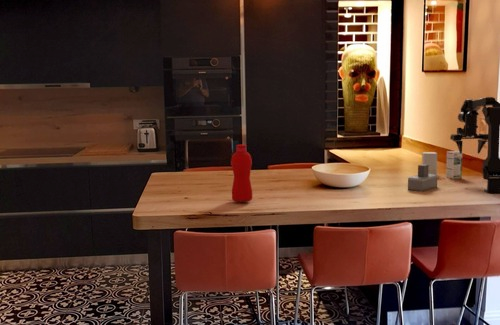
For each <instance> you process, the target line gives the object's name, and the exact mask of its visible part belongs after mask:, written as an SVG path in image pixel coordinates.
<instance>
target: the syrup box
mask: <svg viewBox="0 0 500 325" xmlns="http://www.w3.org/2000/svg"><path fill="white" fill-rule="evenodd" d="M445 170H446V172H445V174H446V176H445V177H446V178H448V179H451V178H452V179H462V178H463V176H462V174H463V173H462V172H463V153H462V154H460V152H459V150H449V151H446V169H445Z"/></svg>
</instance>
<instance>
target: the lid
mask: <svg viewBox="0 0 500 325" xmlns="http://www.w3.org/2000/svg"><path fill="white" fill-rule="evenodd" d="M428 170H429V165H427V164H422V163H421V164H418V165H417V175H413V176H412V175H411V176H408V177H407V181H408V180H416V181H425V180H429V179H432V178H435V177H437V178H439V176H438V174H437V175H434V174H428Z"/></svg>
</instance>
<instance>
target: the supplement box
mask: <svg viewBox="0 0 500 325" xmlns="http://www.w3.org/2000/svg"><path fill="white" fill-rule="evenodd" d="M421 164H427V165H429V170H428V174H434V175H438V174H437V173H438V172H437V170H438V153H437V152H435V151H422V153H421Z"/></svg>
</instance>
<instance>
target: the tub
mask: <svg viewBox="0 0 500 325" xmlns="http://www.w3.org/2000/svg"><path fill="white" fill-rule="evenodd" d="M437 187H438V177H435V178H432V179H429V180H425V181H416V180H408V179H407V190H408V191H413V192H414V191H415V192H421V193H422V192H425V191H428V190H431V189H435V188H437Z"/></svg>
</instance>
